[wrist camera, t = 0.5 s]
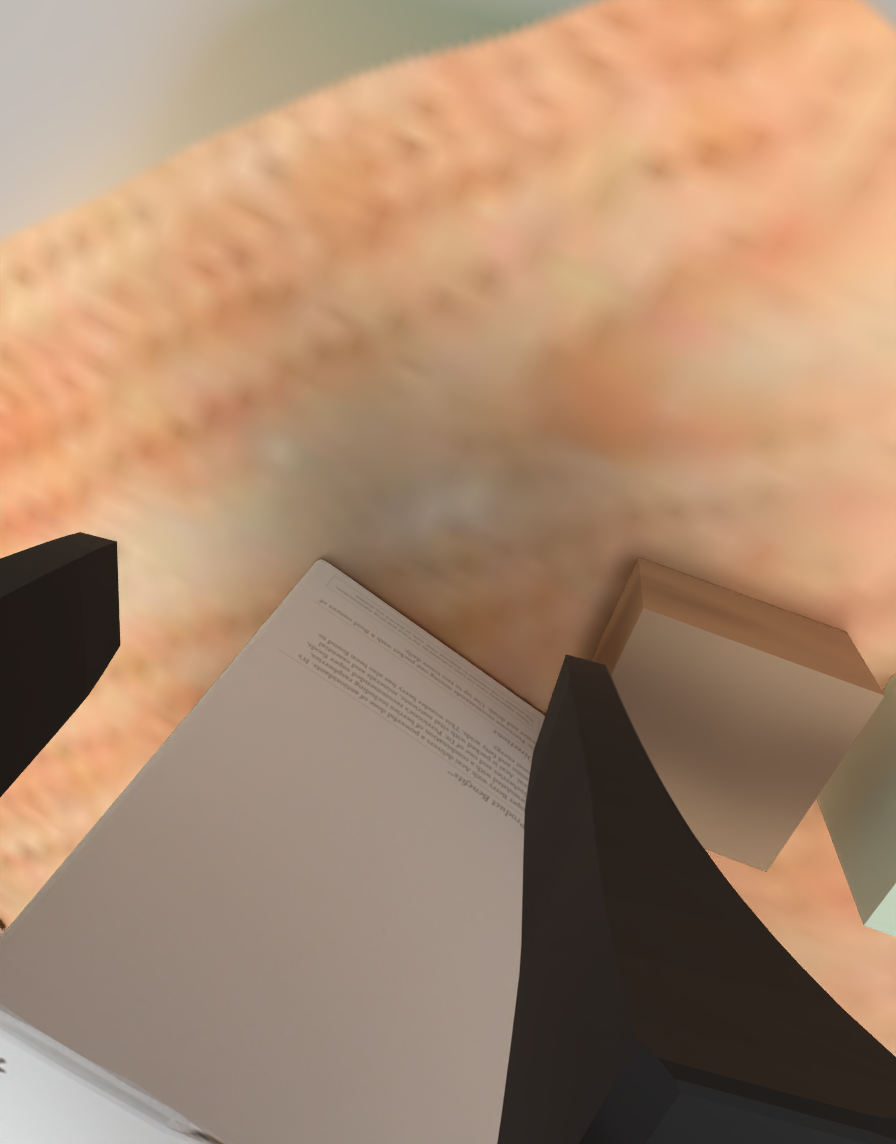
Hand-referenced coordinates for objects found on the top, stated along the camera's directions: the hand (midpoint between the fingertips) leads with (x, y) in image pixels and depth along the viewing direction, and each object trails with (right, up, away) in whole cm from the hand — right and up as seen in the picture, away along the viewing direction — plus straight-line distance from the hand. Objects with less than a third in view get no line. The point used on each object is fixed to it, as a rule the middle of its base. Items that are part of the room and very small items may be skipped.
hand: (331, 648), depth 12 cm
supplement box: (-1, -4, +14) cm, 14 cm away
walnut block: (+9, -2, +11) cm, 14 cm away
